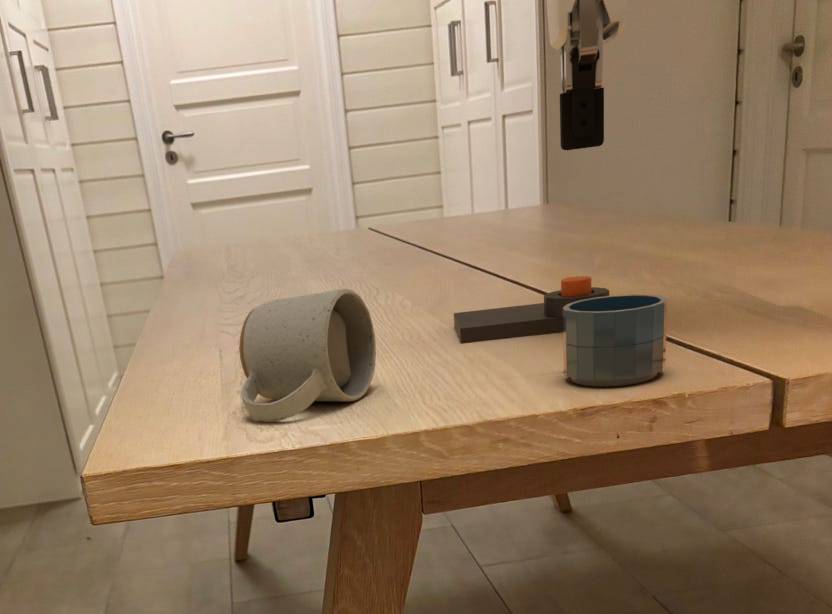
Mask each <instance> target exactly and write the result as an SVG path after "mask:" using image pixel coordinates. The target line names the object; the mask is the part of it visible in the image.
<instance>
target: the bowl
mask: <svg viewBox="0 0 832 614" xmlns="http://www.w3.org/2000/svg"><path fill="white" fill-rule="evenodd" d="M667 323H668V298H666V297H665V296H662V295H656V294H639V293H638V294H635V293H634V294H616V295H609V296H605V297H596V298H590V299H585V300H579V301H576V302H572V303H569V304H567V305H566V306H564V307H563V332H562V340H563V341H562V345H563V346H562V349H563V351H562V354H563V355H562V356H563V359H562V360H563V373H564V376H566V377H567V378H570V380H571V382H572V383H574V384H576V385H579V386H586V387H598V388H609V387H611V388H612V387H623V386H631V385H636V384H637V385H638V384H641V383H644V382H648V381H650V380H654V379H655V378H657V376H658V373H660V372H662V371H663V370H664V369H665V367H666V356H667V355H666V353H667V325H668V324H667Z"/></svg>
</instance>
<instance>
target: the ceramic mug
mask: <svg viewBox="0 0 832 614" xmlns="http://www.w3.org/2000/svg"><path fill="white" fill-rule="evenodd" d="M375 334H376V333H375V330H374V324H373V321H372V317H371V314H370V311H369V308H368V307H367V304H366V303H365V301H364V299H363V298H362V296H360V295H359V293H357V292H356V291H354V290H352V289H349V288H338V289H334V290H329V291H322V292H317V293H311V294H304V295H299V296H293V297H292V296H291V297H285V298H278V299H272V300H270V301H267V302H264V303H261V304H260V305H258V306H256V307H254V308H253V309H251V311H250V312H248V314H247V315H246V317H245V319H244V321H243V323H242V327H241V330H240V335H239V346H238V347H239V350H238V351H239V360H240V364H241V367H242V370H243V374H244V376H245V377H246V380H245V381H244V383H243V385H242V387H241V391H240V396H241V400H242V404H243V406H244V407H245V409H246V411H247V413H248V414H249V416H250V417H252V418H253V419H254V420H256V421H259V422H264V423H276V422H280V421H284V420H287V419H290V418H292V417H294V416H296V415H298V414H300V413H302V412H303V411H305V410H307V408H309V407H310V406H311V405H312V404H313V403H314V402H341V403H342V402H343V403H345V402H347V403H348V402H356V401H357V400H359V399H361V398H362V397H363V396H364V395H365V394H367V392H368V390H369V388H370V386H371V383H372V381H373V378H374V375H375V369H376V359H377V358H376V357H377V348H376V347H377V345H376V344H377V343H376V335H375ZM258 395H259V396H261V397H263V398H266V399H269V400H273V401H272V402H271V401H270V402H266V403H265V402H264V403H263V402H262V403H260V402H259V403H257V402H255V400H256V398H257V396H258Z"/></svg>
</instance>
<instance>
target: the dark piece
mask: <svg viewBox="0 0 832 614" xmlns="http://www.w3.org/2000/svg"><path fill="white" fill-rule="evenodd" d="M605 296H610V290H609V289H608V288H606V287H596V286H595V287H594V286H591V293H590V294H585V295H576V296H561V289H559V290H554V291H551V292H548V293H545V294H544V295H543V302H540V303H529V304H523V305H513V306H505V307H495V308H488V309H487V308H486V309H477V310H470V311H468V310H467V311H460V312H454V313H453V325H454V329H455V332H456V335H457V338H458V341H459V342H460V343H459V344H461V345H462V344H470V343H478V342H479V343H480V342H489V341H497V340H506V339H507V340H508V339H516V338H524V337H525V338H526V337H535V336H543V335H552V334H561V333H563V307H564V306H566V305H567V304H569V303H572V302H576V301H579V300H585V299H590V298H596V297H605Z"/></svg>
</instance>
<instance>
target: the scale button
mask: <svg viewBox="0 0 832 614" xmlns="http://www.w3.org/2000/svg"><path fill="white" fill-rule="evenodd" d="M591 287H592V276H589V275H579V276H577V275H576V276H571V277H564V278H561V280H560V290H561V296H576V295H585V294H590V293H591Z"/></svg>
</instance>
